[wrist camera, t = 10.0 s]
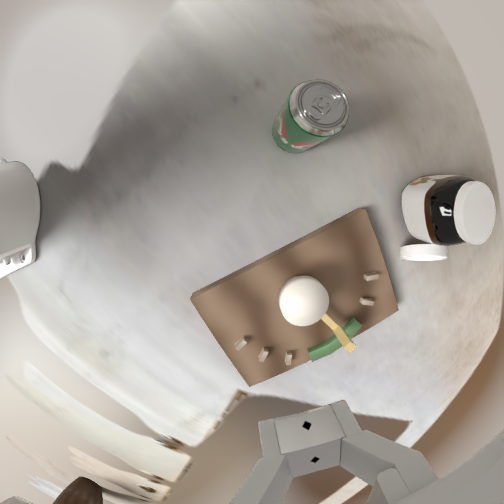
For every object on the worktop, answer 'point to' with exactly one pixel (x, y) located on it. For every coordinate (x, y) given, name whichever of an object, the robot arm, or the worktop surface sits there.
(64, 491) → the plant pot
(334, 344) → the gauge board
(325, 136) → the soda can
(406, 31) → the worktop surface
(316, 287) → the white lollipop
